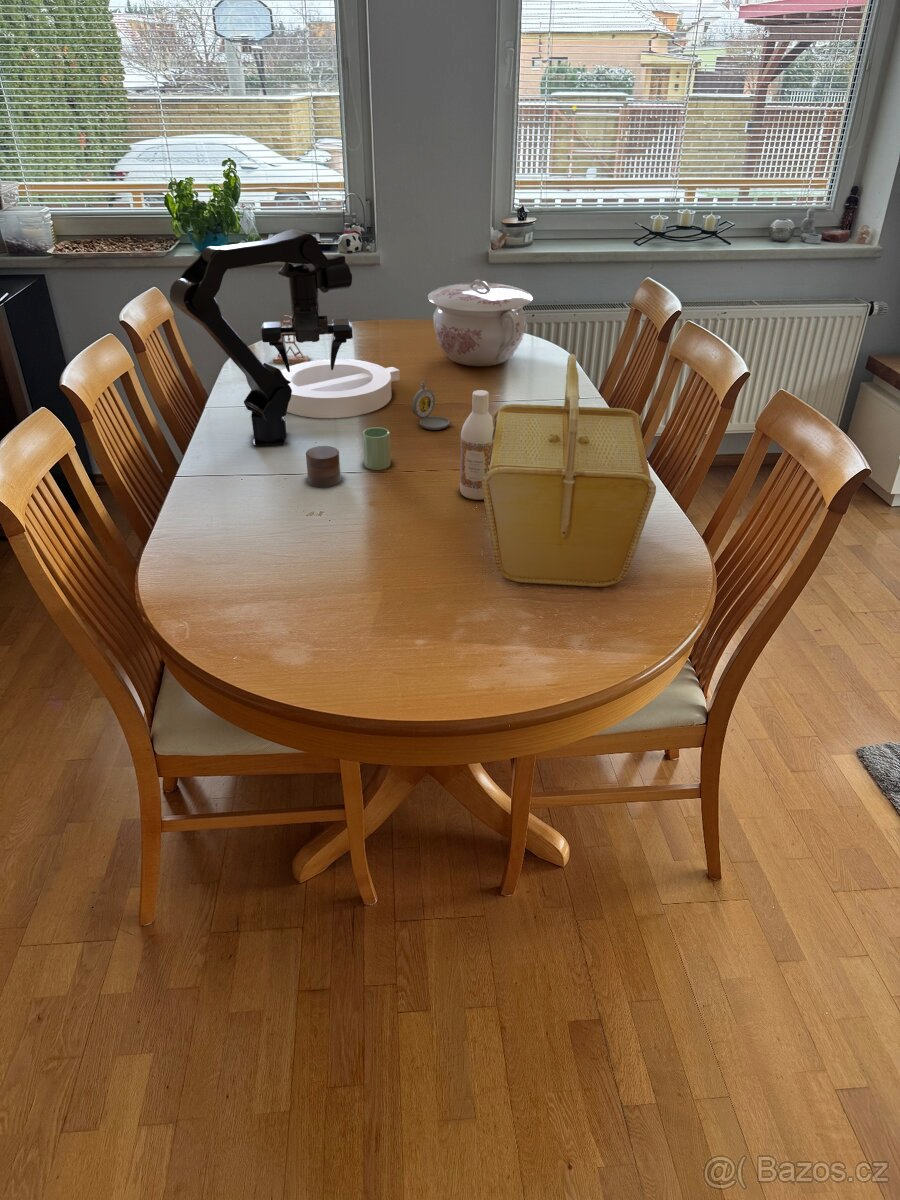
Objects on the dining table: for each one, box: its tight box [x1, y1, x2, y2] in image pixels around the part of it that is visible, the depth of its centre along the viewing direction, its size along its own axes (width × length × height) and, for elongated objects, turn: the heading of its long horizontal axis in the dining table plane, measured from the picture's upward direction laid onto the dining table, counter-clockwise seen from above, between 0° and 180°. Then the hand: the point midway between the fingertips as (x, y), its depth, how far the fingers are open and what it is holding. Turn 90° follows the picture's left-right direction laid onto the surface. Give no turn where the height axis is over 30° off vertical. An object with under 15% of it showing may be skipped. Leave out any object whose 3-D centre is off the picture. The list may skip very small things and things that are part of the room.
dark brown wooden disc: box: [305, 445, 340, 469], centre depth 171 cm, size 6×6×2 cm
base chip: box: [307, 471, 342, 488], centre depth 173 cm, size 6×6×2 cm
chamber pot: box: [427, 279, 534, 368], centre depth 232 cm, size 28×28×21 cm
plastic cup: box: [362, 427, 391, 471], centre depth 178 cm, size 5×5×7 cm
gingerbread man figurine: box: [272, 314, 310, 365], centre depth 232 cm, size 9×4×12 cm, turn 85°
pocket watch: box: [411, 377, 450, 431], centre depth 196 cm, size 8×8×10 cm
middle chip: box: [306, 461, 341, 478], centre depth 172 cm, size 6×6×2 cm
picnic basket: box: [482, 353, 657, 588], centre depth 143 cm, size 29×26×30 cm
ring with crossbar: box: [280, 358, 401, 419], centre depth 212 cm, size 28×28×5 cm
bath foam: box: [459, 389, 494, 501], centre depth 164 cm, size 7×7×20 cm
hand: (310, 370), depth 189 cm, fingers open, 9 cm apart
